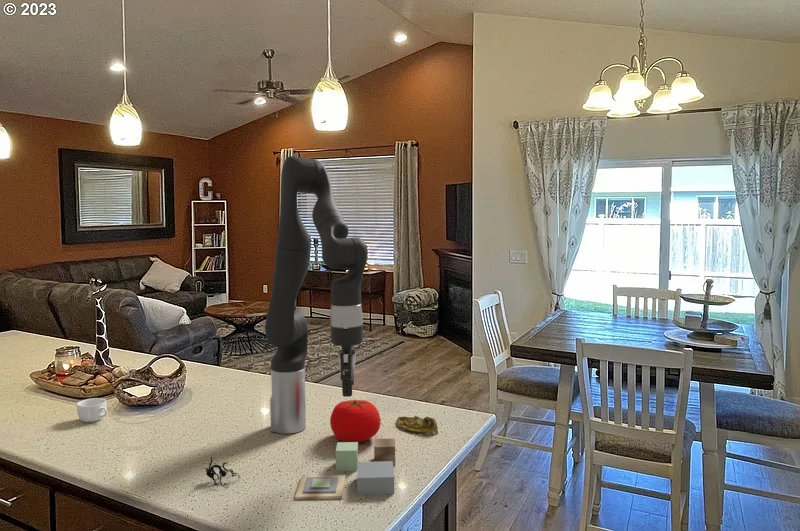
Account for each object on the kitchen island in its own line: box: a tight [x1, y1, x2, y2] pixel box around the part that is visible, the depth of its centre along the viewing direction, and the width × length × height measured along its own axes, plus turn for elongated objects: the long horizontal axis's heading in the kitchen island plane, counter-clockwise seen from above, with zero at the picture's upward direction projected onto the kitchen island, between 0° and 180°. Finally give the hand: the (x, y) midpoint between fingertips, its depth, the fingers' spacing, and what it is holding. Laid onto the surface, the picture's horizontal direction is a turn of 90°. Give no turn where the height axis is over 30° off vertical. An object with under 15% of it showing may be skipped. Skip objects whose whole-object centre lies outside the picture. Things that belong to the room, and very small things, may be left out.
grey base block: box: [356, 461, 395, 496], centre depth 131 cm, size 8×8×4 cm
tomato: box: [329, 398, 382, 443], centre depth 157 cm, size 14×13×10 cm
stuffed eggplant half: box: [396, 415, 439, 436], centre depth 165 cm, size 9×5×15 cm
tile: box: [294, 474, 346, 500], centre depth 129 cm, size 10×10×1 cm
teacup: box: [76, 397, 108, 423], centre depth 172 cm, size 10×8×5 cm
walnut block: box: [373, 438, 396, 467], centre depth 142 cm, size 5×5×5 cm
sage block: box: [335, 441, 359, 472], centre depth 140 cm, size 5×5×5 cm
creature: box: [204, 456, 242, 489], centre depth 133 cm, size 8×5×8 cm
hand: (348, 390), depth 139 cm, fingers open, 8 cm apart
